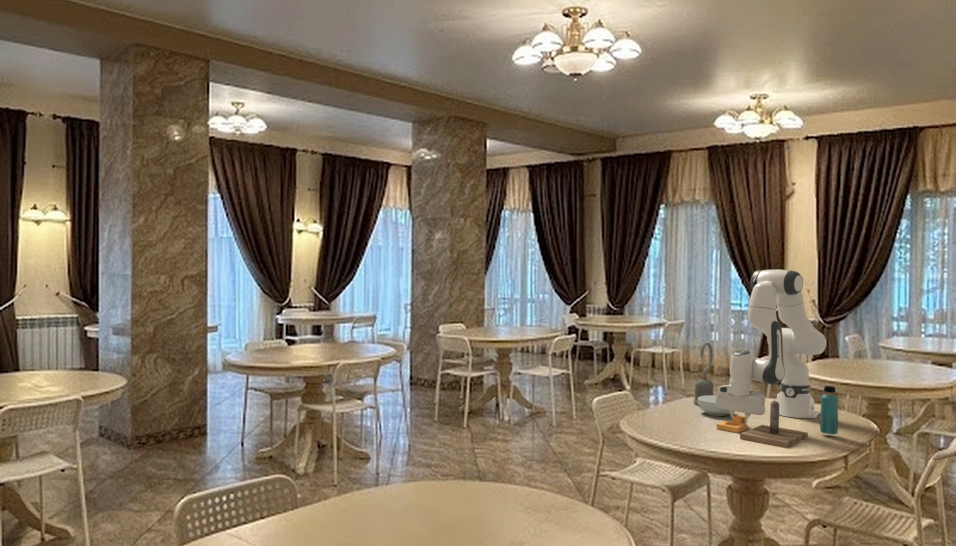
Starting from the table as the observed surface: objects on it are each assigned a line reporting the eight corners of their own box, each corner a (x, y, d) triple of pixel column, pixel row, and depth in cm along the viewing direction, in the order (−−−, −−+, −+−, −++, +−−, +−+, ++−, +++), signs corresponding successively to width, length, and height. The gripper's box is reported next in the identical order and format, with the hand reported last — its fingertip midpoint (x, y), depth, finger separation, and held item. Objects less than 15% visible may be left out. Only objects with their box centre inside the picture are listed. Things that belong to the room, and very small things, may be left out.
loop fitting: (732, 423, 307) (732, 413, 307) (752, 426, 301) (753, 417, 300) (716, 428, 296) (716, 419, 296) (737, 432, 290) (738, 422, 290)
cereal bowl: (697, 409, 335) (697, 394, 335) (735, 411, 330) (735, 396, 330) (698, 416, 318) (698, 400, 318) (737, 419, 314) (738, 403, 314)
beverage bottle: (839, 438, 283) (841, 388, 283) (821, 437, 285) (823, 387, 284) (835, 434, 290) (836, 385, 289) (817, 433, 291) (818, 384, 291)
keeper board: (762, 429, 296) (763, 394, 296) (807, 437, 284) (808, 400, 284) (739, 438, 280) (740, 401, 280) (787, 447, 268) (788, 408, 268)
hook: (719, 404, 347) (721, 342, 347) (708, 407, 339) (710, 344, 338) (701, 401, 354) (702, 340, 353) (689, 404, 345) (690, 342, 345)
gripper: (768, 392, 296) (767, 425, 297) (720, 385, 310) (719, 417, 311) (762, 394, 292) (761, 427, 292) (714, 387, 306) (713, 419, 306)
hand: (739, 422), depth 301 cm, fingers closed on loop fitting, 3 cm apart
